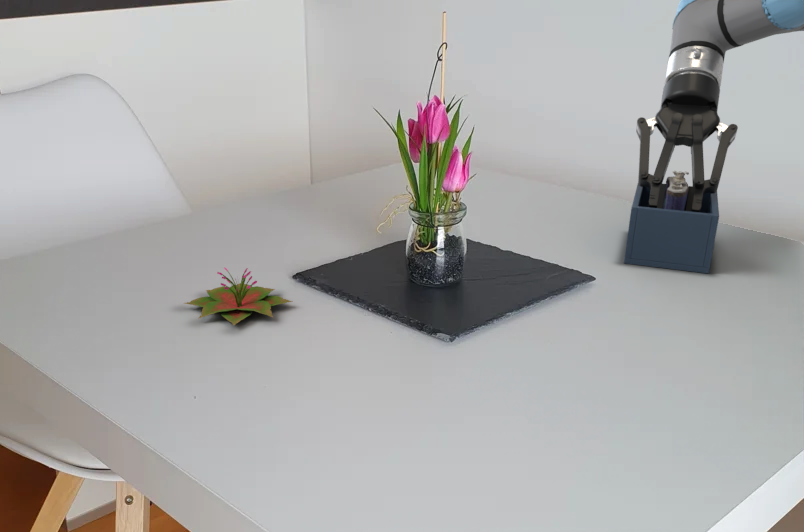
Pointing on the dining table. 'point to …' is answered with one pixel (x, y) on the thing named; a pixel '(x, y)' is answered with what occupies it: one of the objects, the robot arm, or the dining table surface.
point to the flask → (676, 192)
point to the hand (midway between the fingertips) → (670, 232)
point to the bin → (671, 234)
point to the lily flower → (237, 300)
